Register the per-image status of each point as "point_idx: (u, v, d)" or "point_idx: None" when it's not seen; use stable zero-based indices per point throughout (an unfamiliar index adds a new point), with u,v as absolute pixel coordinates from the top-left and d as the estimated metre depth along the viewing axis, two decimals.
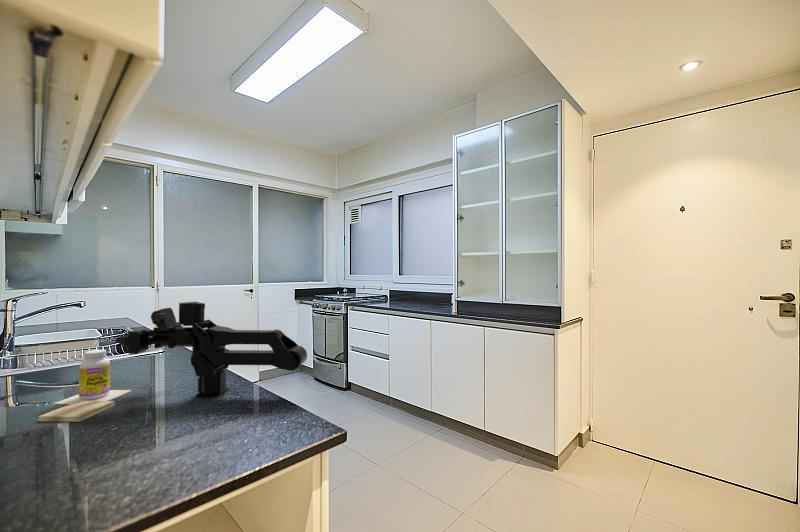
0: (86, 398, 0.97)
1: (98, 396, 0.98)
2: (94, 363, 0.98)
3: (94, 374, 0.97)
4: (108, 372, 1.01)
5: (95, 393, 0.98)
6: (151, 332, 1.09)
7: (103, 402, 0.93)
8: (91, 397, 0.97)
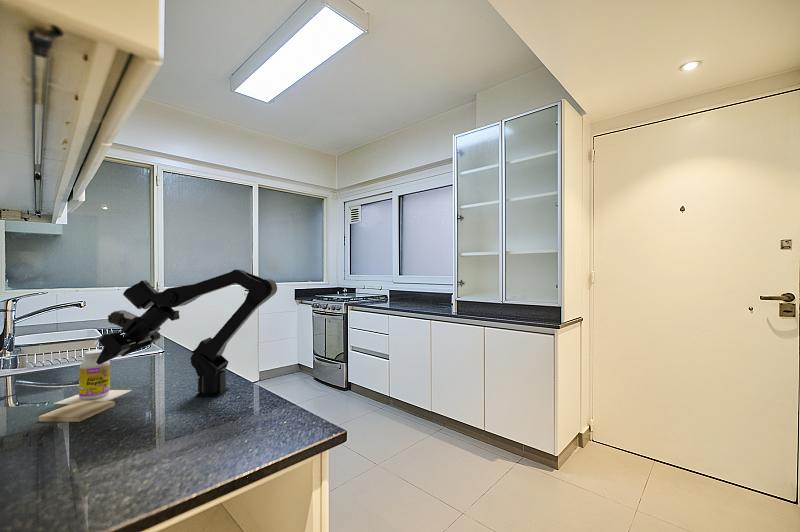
0: (86, 398, 0.97)
1: (98, 396, 0.98)
2: (94, 363, 0.98)
3: (94, 374, 0.97)
4: (108, 372, 1.01)
5: (95, 393, 0.98)
6: None
7: (103, 402, 0.93)
8: (91, 397, 0.97)
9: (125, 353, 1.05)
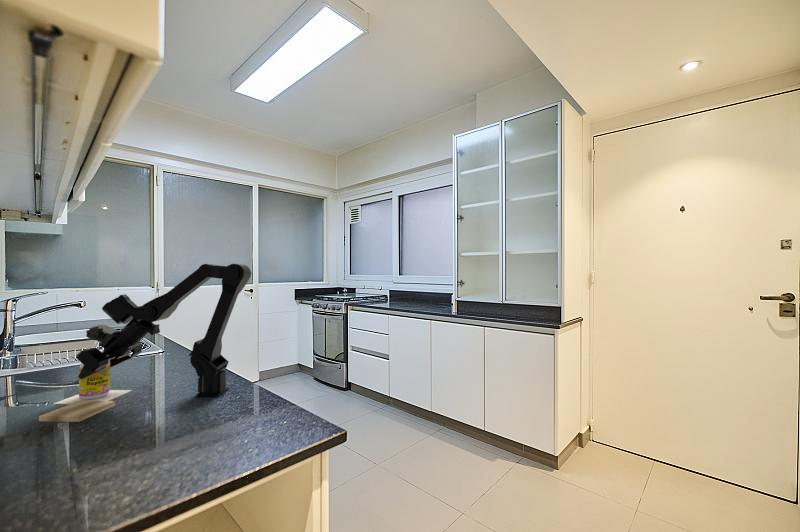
0: (86, 398, 0.97)
1: (98, 396, 0.98)
2: None
3: (94, 374, 0.97)
4: (108, 372, 1.01)
5: (95, 393, 0.98)
6: None
7: (103, 402, 0.93)
8: (91, 397, 0.97)
9: None
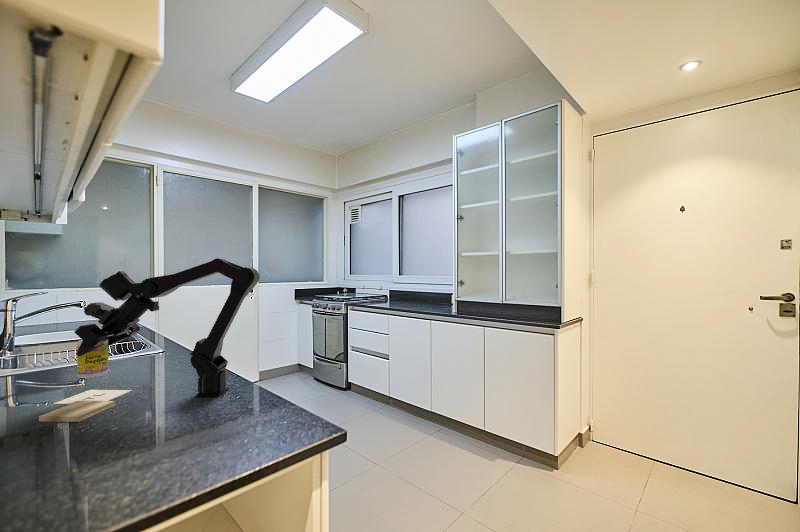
0: (85, 376, 0.96)
1: (97, 374, 0.97)
2: None
3: (92, 352, 0.96)
4: (106, 350, 1.00)
5: (94, 371, 0.97)
6: None
7: (103, 402, 0.93)
8: (90, 375, 0.96)
9: None
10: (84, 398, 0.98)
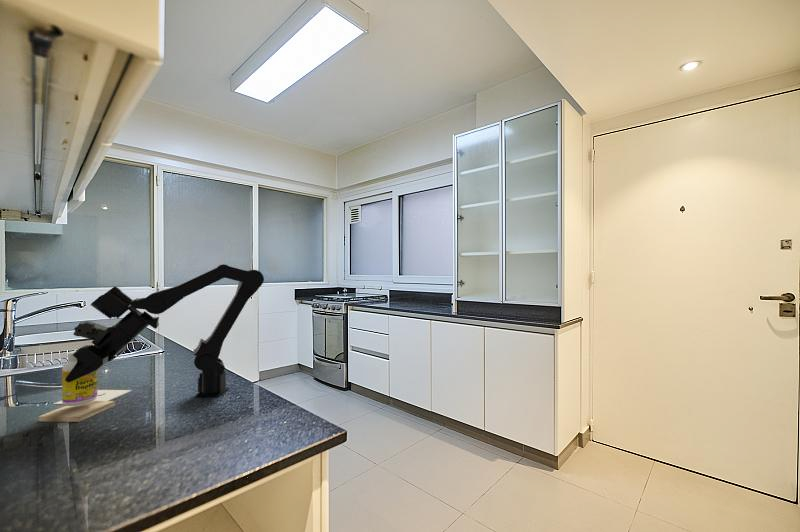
0: (75, 404, 0.86)
1: (89, 400, 0.88)
2: None
3: (84, 377, 0.87)
4: (96, 373, 0.91)
5: (86, 397, 0.88)
6: None
7: (103, 402, 0.93)
8: (81, 402, 0.87)
9: None
10: None
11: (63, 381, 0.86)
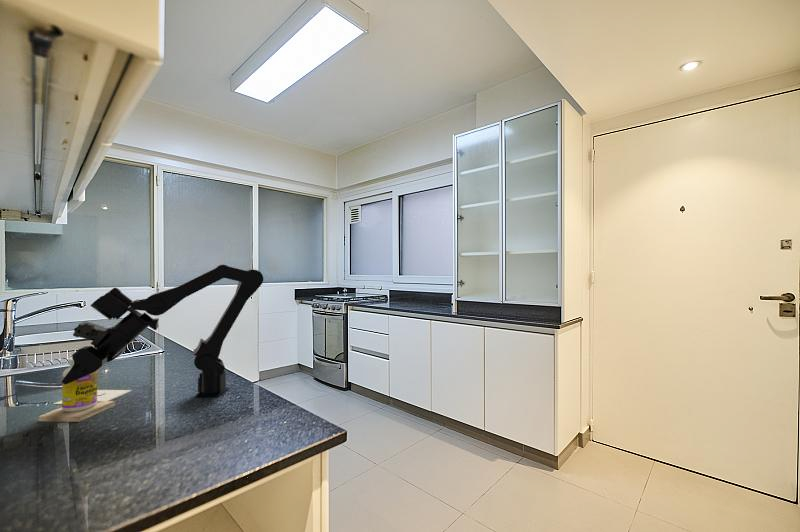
0: (75, 409, 0.86)
1: (89, 406, 0.88)
2: None
3: (84, 382, 0.87)
4: (97, 379, 0.91)
5: (86, 403, 0.88)
6: None
7: (103, 402, 0.93)
8: (81, 408, 0.87)
9: None
10: None
11: (63, 386, 0.86)
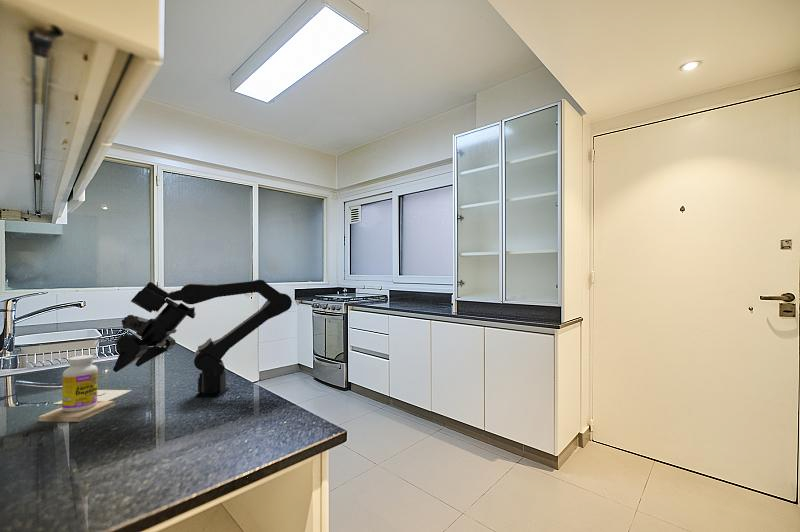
0: (75, 410, 0.86)
1: (89, 406, 0.88)
2: (84, 370, 0.88)
3: (84, 382, 0.87)
4: (97, 379, 0.91)
5: (86, 403, 0.88)
6: (143, 355, 1.00)
7: (103, 402, 0.93)
8: (81, 408, 0.87)
9: (141, 363, 1.00)
10: None
11: (63, 386, 0.86)
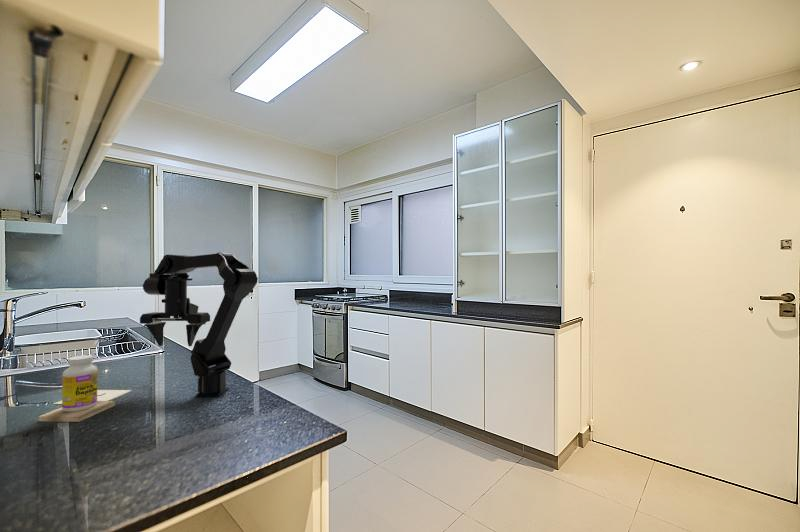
0: (75, 410, 0.86)
1: (88, 406, 0.88)
2: (83, 370, 0.88)
3: (84, 382, 0.87)
4: (97, 379, 0.91)
5: (86, 403, 0.88)
6: None
7: (103, 402, 0.93)
8: (81, 408, 0.87)
9: None
10: None
11: (63, 387, 0.86)
